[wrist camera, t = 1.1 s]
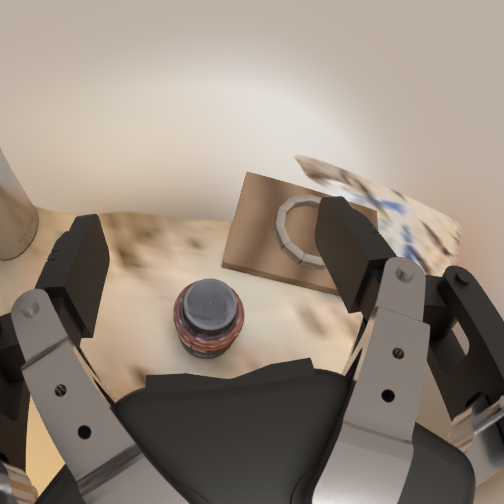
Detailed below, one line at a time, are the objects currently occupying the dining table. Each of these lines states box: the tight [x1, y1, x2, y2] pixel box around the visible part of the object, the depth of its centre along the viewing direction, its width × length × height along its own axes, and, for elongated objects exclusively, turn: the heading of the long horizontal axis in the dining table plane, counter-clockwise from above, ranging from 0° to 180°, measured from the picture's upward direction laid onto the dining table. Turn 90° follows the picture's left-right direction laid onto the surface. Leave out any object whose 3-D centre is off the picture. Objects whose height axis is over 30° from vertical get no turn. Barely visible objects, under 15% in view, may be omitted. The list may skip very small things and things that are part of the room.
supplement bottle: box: [173, 279, 244, 358], centre depth 27 cm, size 6×6×11 cm
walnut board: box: [222, 172, 378, 295], centre depth 38 cm, size 20×14×3 cm
